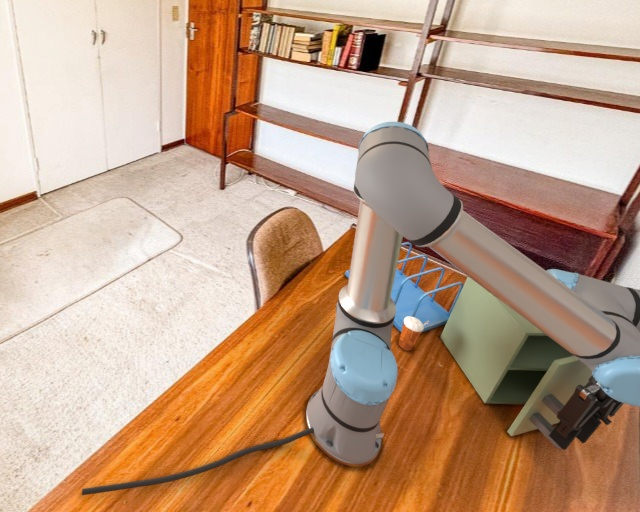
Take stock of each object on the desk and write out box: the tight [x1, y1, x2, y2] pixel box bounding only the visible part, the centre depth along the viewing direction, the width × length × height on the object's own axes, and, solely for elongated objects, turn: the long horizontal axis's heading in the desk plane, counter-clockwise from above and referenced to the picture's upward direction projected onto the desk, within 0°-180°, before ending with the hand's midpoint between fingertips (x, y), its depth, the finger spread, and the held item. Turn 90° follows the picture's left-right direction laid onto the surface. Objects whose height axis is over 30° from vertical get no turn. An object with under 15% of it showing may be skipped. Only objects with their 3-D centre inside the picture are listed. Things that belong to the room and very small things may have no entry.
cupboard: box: [440, 276, 574, 405], centre depth 95 cm, size 18×26×24 cm
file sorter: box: [344, 241, 464, 333], centre depth 117 cm, size 25×17×15 cm
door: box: [506, 356, 592, 450], centre depth 81 cm, size 7×26×23 cm, turn 103°
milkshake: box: [398, 316, 429, 351], centre depth 103 cm, size 4×5×10 cm
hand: (567, 438), depth 78 cm, fingers open, 5 cm apart
